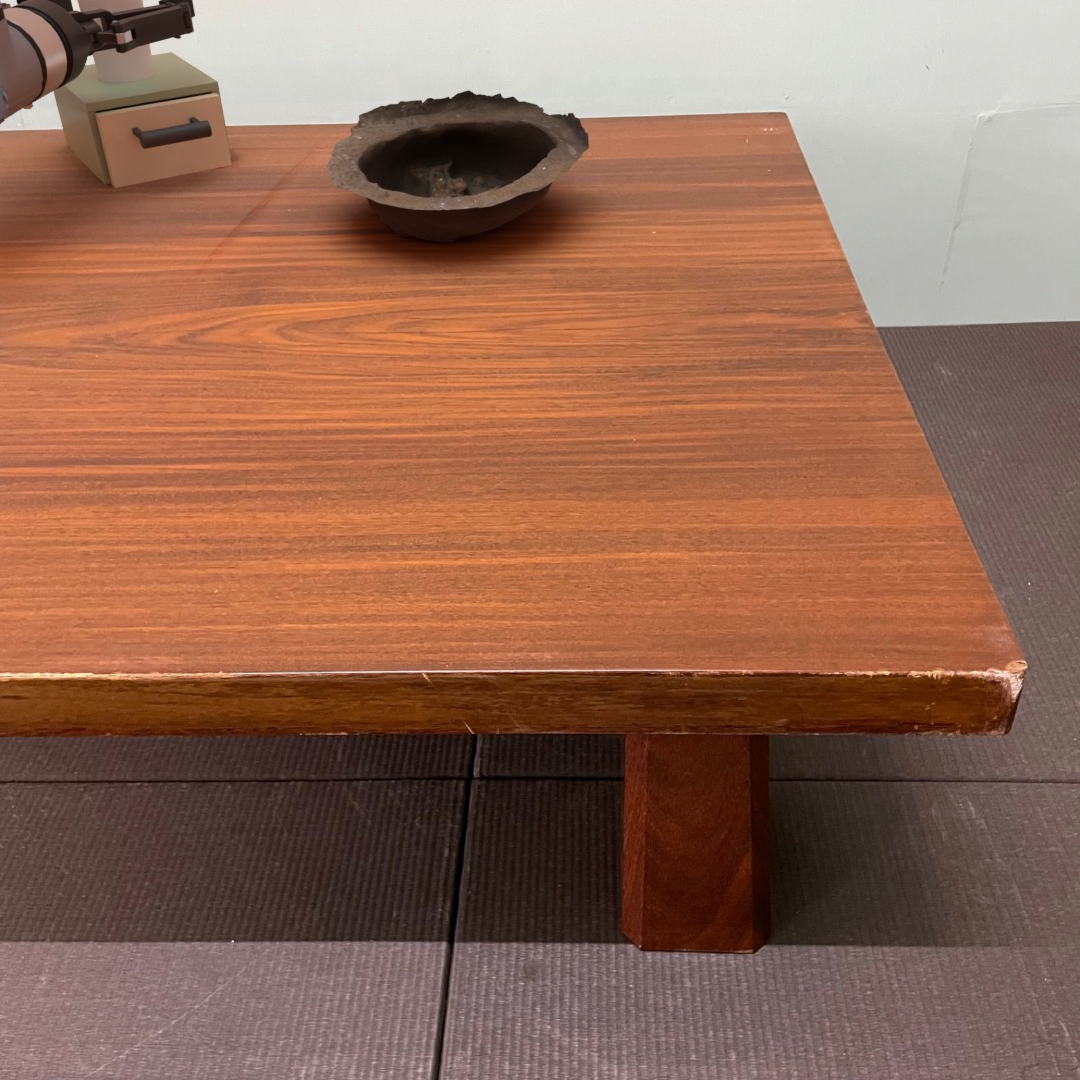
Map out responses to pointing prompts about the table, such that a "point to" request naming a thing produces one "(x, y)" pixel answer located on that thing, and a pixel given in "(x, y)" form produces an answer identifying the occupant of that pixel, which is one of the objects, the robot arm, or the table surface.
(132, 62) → the drinking glass
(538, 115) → the stone bowl
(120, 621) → the table surface
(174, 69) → the cabinet
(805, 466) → the table surface
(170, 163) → the drawer
